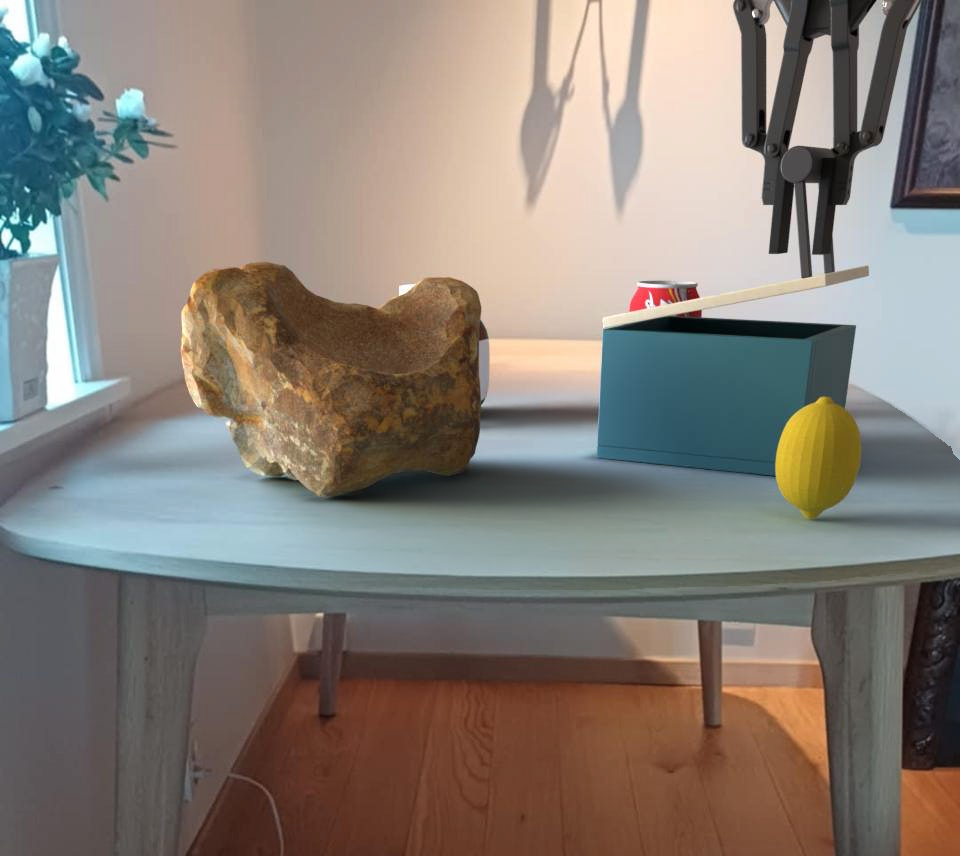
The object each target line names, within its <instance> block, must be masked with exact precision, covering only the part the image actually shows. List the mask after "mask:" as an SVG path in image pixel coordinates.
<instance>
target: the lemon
mask: <svg viewBox="0 0 960 856" xmlns="http://www.w3.org/2000/svg"><path fill="white" fill-rule="evenodd" d="M860 433H861V432H860V429H859V425H858V424H857V421H856V419H855V418H854V417H853V415H852V414H851V413H850V412H849V411H848V410H847V409H846V408H845V409H844V408H843V407H841V406H840V405H838V404H835V403H834V402H833V400H832V399H831V398H830V397H826V396H825V397H820V398H819V399H818V400H817V401H816V402H815V403H812V404H809V405H807V406H805V407H803V408H802V409H800V410H799V411H798V412H796V413H795V414H794V415H793V416H792V417H791V418H790V420H789V421H788V422H787V424H786V426H785V428H784V430H783V432H782V435H781V438H780V441H779V444H778V448H777V454H776V463H775V471H776V476H775V479H776V483H777V487H778V489H779V491H780V493H781V495H782V497H783V498H784V499H785V500H786V501H787V502H788V503H789V504H790V505H792V506H793V507H795V508H796V509H799V510H800V512H801V514H802V515H803V516H804V518H805V519H808V520H813V519H816V518H817V517H818V516H819V515H821V514H822V513H823V511H825V510H828V509H831V508H832V507H835V506H836V505H838V504H839V503H841V502H842V501H843V500H844V499H845V498H846V496H848V495H849V493H850V492H851V490H852V488H853V486H854V484H855V482H856V479H857V477H858V474H859V471H860V467H861V466H860V465H861V459H862V441H861V434H860Z"/></svg>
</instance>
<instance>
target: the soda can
mask: <svg viewBox="0 0 960 856" xmlns="http://www.w3.org/2000/svg"><path fill="white" fill-rule="evenodd" d="M636 286H637V289H636V291H635V293H634V295H632V298H631V300H630V302H629V309H628V310H629V311H628V312H633V311H637V310H642V309H647V308H652V307H657V306H662V305H667V304H672V303H677V302H682V301H687V300H692V299H697V298H701V296H700V294H699V293H698V290H697V287H698V282H696V281H686V280H641V281H637V283H636ZM702 313H703V310H698V311H693V312H688V313H683V314H677V315H672V316H684V317H703V314H702Z"/></svg>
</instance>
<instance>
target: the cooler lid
mask: <svg viewBox="0 0 960 856" xmlns="http://www.w3.org/2000/svg"><path fill="white" fill-rule="evenodd" d="M822 158H834V155H833V153H832V152H831V148H829V147H817V146H816V147H815V146H807V145H794V146H791V147H789V149H788V151H787V152H786V153H785V154H784V156H783V158H782V161H781V172H782V175H783V177H784V178H785V179H786V180H787V181H789V182H791V183H794V202H795V214H796V215H795V216H796V226H797V227H796V228H797V240H798V253H799V266H800V278H796V279H790V280H786V281H780V282H774V283H768V284H765V285H760V286H759V285H758V286H754V287H749V288H744V289H738V290H734V291H728V292H723V293H718V294H712V295H709V296H708V295H707V296H703V297H700V298H697V299H692V300H687V301H682V302H677V303H672V304H667V305H662V306H657V307H652V308H647V309H642V310H637V311H633V312H629V311H628V312H623V313H617V314H613V315H608V316H604V317H602V325H603V326H602V327H603V329H607V328H611V327H616V326H620V325H625V324H630V323H635V322H640V321H646V320H651V319H656V318H661V317H667V316H672V315H677V314H683V313H688V312H693V311H698V310H702V311H703V310H709V309H713V308H719V307H724V306H729V305H735V304H739V303H745V302H750V301H757V300H761V299H767V298H771V297H777V296H782V295H787V294H794V293H798V292H804V291H808V290H815V289H819V288H825V287H829V286H833V285H838V284H842V283H846V282H849V281H854V280H858V279H862V278H866V277H869V276H870V267H869V265H863V266H857V267H853V268H852V267H851V268H847V269H842V270H836V266H835V252H834V238H833V235H834V234H832V243H831V252H830V254H824V255H822V259H823V273H822V274H815V275H813V267H812V266H813V265H812V251H811V240H810V239H811V238H810V226H809V211H808V198H807V184H817V186H818V187H817V188H818V190H819V184H820V175H821V168H822Z"/></svg>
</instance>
